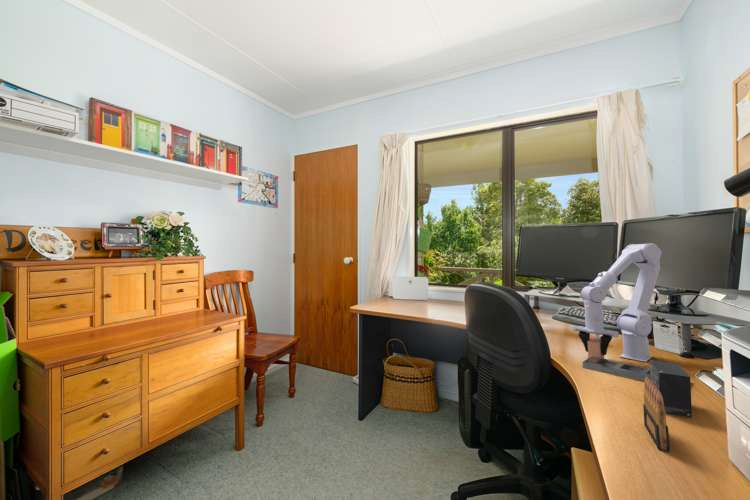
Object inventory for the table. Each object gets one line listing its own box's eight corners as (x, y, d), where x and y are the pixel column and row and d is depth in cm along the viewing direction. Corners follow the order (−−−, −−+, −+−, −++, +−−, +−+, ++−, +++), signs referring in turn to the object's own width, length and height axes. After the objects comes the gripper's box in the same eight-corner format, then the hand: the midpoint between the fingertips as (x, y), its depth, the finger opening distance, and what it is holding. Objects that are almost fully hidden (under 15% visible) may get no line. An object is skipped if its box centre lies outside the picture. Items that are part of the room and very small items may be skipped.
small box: (695, 419, 76) (692, 376, 76) (659, 413, 79) (657, 371, 79) (681, 401, 85) (679, 362, 85) (650, 396, 88) (648, 359, 88)
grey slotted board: (592, 361, 117) (592, 356, 117) (689, 382, 96) (688, 375, 96) (582, 367, 112) (582, 361, 112) (683, 390, 91) (682, 383, 91)
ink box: (658, 347, 130) (657, 320, 131) (685, 354, 121) (683, 324, 121) (653, 348, 130) (651, 320, 130) (679, 354, 121) (677, 325, 121)
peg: (592, 356, 122) (591, 339, 123) (604, 359, 119) (603, 341, 119) (588, 359, 120) (587, 341, 120) (600, 361, 117) (599, 343, 117)
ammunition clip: (644, 424, 74) (640, 374, 75) (654, 426, 74) (651, 375, 74) (658, 449, 65) (654, 392, 65) (670, 452, 64) (666, 393, 64)
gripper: (568, 316, 123) (570, 351, 123) (613, 321, 112) (615, 359, 111) (576, 314, 128) (578, 347, 127) (619, 318, 116) (621, 355, 116)
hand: (596, 352), depth 120 cm, fingers open, 5 cm apart
